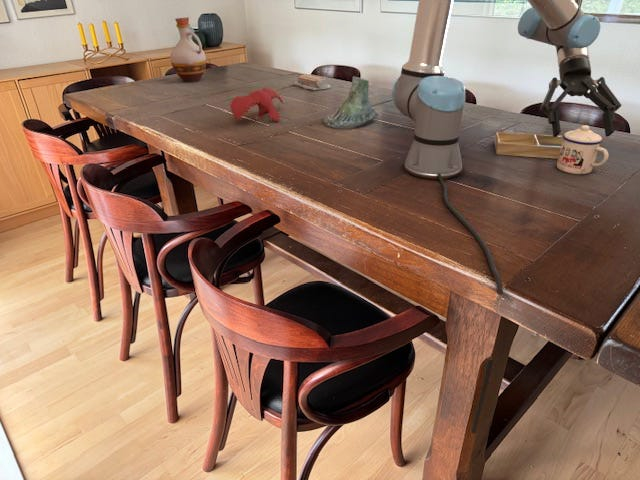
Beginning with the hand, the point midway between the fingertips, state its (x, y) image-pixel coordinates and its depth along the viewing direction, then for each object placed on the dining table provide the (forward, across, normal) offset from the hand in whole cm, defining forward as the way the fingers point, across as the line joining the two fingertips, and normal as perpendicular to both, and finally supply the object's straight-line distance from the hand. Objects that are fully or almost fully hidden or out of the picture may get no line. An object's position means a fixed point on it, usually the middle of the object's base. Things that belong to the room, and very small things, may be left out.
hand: (583, 134), depth 120 cm
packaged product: (-68, +80, -81) cm, 133 cm away
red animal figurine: (-27, +94, -40) cm, 105 cm away
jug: (-80, +144, -93) cm, 189 cm away
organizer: (-3, +6, -15) cm, 17 cm away
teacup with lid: (+9, 0, -4) cm, 10 cm away
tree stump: (-26, +61, -38) cm, 77 cm away
